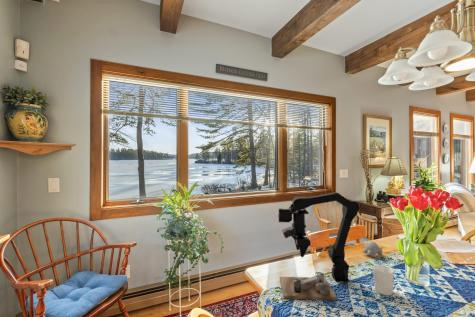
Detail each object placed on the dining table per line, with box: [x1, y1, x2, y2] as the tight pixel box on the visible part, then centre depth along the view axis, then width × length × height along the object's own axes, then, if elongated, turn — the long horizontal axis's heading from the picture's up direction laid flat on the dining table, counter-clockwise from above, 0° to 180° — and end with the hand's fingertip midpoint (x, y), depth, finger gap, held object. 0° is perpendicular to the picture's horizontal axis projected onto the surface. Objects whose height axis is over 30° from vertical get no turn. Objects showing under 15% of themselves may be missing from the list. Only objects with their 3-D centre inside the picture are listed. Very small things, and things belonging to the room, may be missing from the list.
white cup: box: [372, 264, 395, 296], centre depth 103 cm, size 8×8×10 cm
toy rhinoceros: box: [362, 241, 384, 258], centre depth 141 cm, size 7×12×8 cm, turn 100°
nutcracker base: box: [279, 276, 338, 301], centre depth 105 cm, size 22×16×5 cm
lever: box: [294, 271, 325, 293], centre depth 104 cm, size 17×4×4 cm, turn 119°
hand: (299, 253), depth 116 cm, fingers open, 9 cm apart
